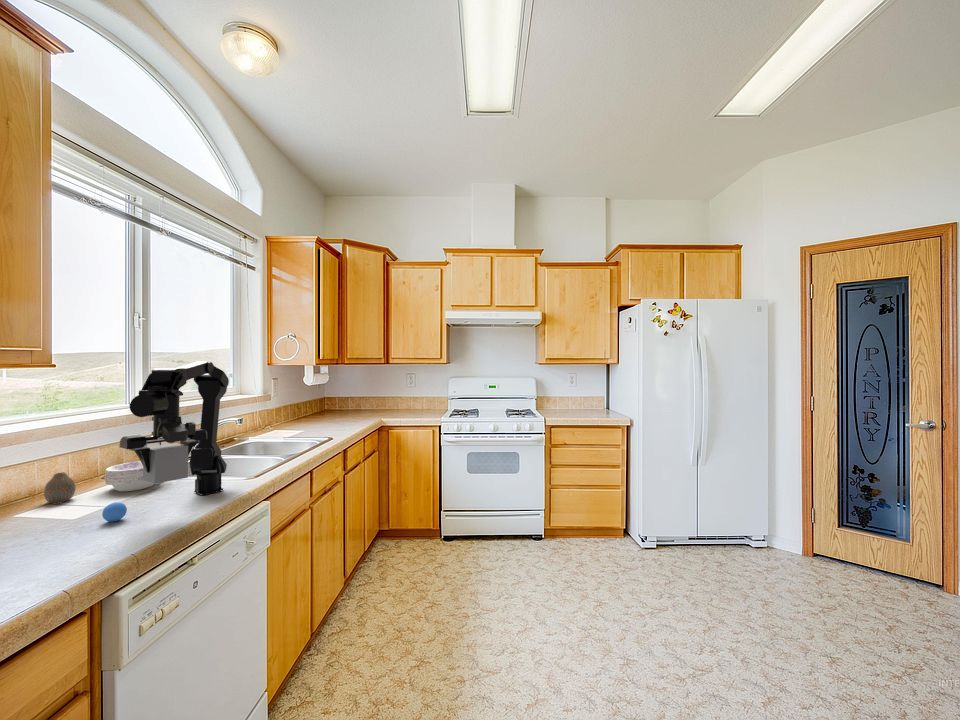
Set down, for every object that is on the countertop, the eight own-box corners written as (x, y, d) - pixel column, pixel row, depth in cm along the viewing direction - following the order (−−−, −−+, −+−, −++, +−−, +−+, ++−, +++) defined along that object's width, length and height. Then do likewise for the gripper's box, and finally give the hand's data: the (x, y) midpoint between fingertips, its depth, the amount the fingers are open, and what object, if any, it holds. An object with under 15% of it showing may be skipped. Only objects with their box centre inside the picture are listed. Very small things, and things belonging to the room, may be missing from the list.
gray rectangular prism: (175, 473, 119) (176, 443, 119) (187, 477, 115) (188, 445, 115) (142, 479, 113) (143, 447, 113) (154, 483, 108) (155, 450, 109)
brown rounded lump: (80, 499, 129) (80, 471, 129) (52, 506, 123) (52, 477, 123) (67, 496, 131) (67, 469, 131) (38, 503, 125) (38, 475, 125)
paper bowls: (133, 480, 149) (133, 459, 149) (173, 481, 148) (173, 459, 148) (92, 494, 134) (92, 470, 134) (136, 495, 133) (136, 471, 133)
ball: (123, 516, 115) (123, 498, 115) (129, 520, 113) (129, 501, 113) (99, 522, 111) (99, 503, 111) (105, 526, 108) (105, 507, 108)
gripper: (136, 418, 102) (134, 481, 102) (217, 411, 118) (216, 466, 117) (119, 415, 108) (118, 475, 108) (198, 409, 124) (197, 461, 123)
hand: (165, 469), depth 114 cm, fingers closed on gray rectangular prism, 8 cm apart
